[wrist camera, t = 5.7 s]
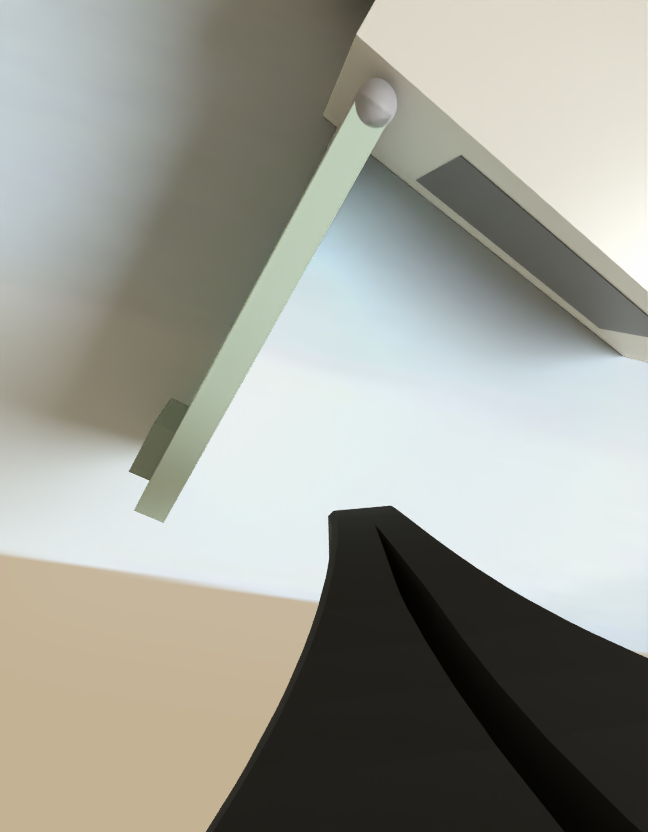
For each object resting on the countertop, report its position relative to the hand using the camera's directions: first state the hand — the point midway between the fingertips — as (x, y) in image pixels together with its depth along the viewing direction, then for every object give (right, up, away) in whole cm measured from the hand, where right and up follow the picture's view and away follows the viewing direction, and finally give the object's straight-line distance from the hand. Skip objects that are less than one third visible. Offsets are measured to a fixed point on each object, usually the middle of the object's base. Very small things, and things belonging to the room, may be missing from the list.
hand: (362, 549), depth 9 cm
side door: (-3, +6, +5) cm, 9 cm away
